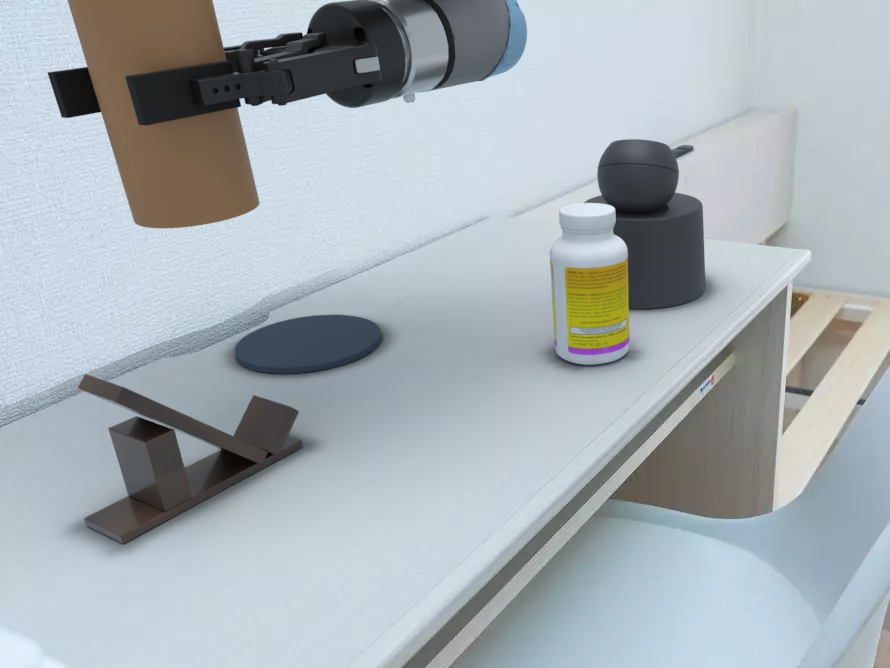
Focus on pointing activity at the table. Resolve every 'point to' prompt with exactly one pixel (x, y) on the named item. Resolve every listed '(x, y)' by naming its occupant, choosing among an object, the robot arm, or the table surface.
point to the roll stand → (160, 463)
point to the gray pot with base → (653, 223)
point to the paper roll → (172, 142)
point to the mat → (308, 344)
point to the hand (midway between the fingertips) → (95, 98)
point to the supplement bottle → (589, 286)
